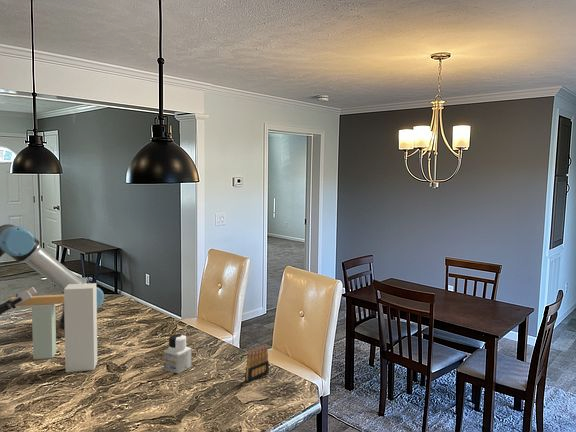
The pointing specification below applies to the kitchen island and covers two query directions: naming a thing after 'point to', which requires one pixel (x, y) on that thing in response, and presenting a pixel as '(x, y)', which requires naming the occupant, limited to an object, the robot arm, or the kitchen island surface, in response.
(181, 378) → the kitchen island surface
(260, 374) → the ammunition clip
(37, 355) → the pale green tall block
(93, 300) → the post
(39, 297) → the bar
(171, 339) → the container
